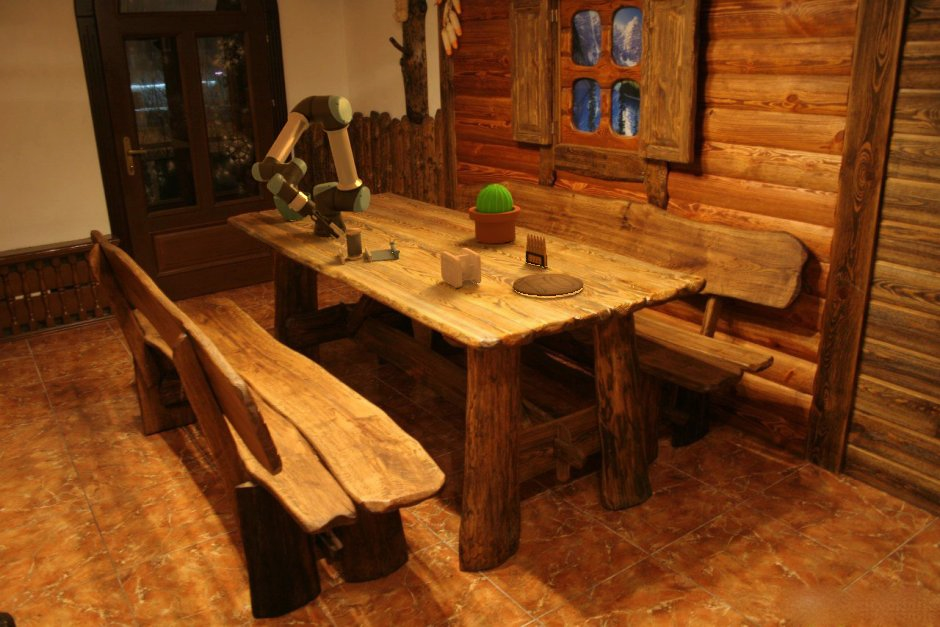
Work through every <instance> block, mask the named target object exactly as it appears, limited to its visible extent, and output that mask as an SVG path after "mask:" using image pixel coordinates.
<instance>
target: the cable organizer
mask: <svg viewBox="0 0 940 627" xmlns="http://www.w3.org/2000/svg"><path fill="white" fill-rule="evenodd" d="M439 256H440V270H441V271H440V272H441V273H440V274H441V278H442V280H443V281H444V282H445V281H446V282H445V283H447V284H448V283H449V284H448V285H451V286H452V287H453V286H454V287H453V288H455V289H459V288H461V287H462V286H463V284H464V281H465V280H467V279H469V280H468V281H469V282H472V283H473V282H474V283H476V284H475V285H478V284H480V283H481V282H482V264H481V263H482V262H481V260H482V259H481V256H480V254H479V253H477V252H476V251H473V250H472V249H470V248H467V247H462V248H460V254H459V255H458V254H457V255H454V254H452V253H451V252H449V251H446V250H445V251H441V252H440V255H439ZM474 283H473V284H474ZM477 283H478V284H477Z"/></svg>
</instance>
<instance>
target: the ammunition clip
mask: <svg viewBox="0 0 940 627" xmlns="http://www.w3.org/2000/svg"><path fill="white" fill-rule="evenodd" d="M546 242H547V241H546V238H545V237H542V236H540V237H539V235H537V236H536V234H534V235H533V234H530V233H527V236H526V246H525V247H526V250H525V263H526V262H527V263H531V264H535V265H540V266H543V267H545V266H547V267H548V254H547V244H546ZM527 263H526V264H527Z"/></svg>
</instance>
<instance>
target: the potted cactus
mask: <svg viewBox="0 0 940 627" xmlns="http://www.w3.org/2000/svg"><path fill="white" fill-rule="evenodd" d="M476 197H477V198H476V203H475V206H472V207H470V208H468V217H469V219H470V220H471V221H473V222H474V231H475V232H474V234H475V235H474V237H475V240H476V242H479V243H482V244H489V245H496V244H498V243H499V244H506V243H510V242H512V241H514V240H516V220H519V219H520V218H521V214H522V213H521V207H520V206H518V205H515V204H514V199H513V196H512V194H511V192H510V191H509V190H508V188H507V187H506V186H505V187H504V185H502V184H498V183H489V184H488V183H487V184H486V185H484V186H483V187H481V189H480V191H479V192H478V193H477V196H476ZM509 241H510V242H509ZM505 242H506V243H505Z"/></svg>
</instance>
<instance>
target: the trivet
mask: <svg viewBox="0 0 940 627" xmlns="http://www.w3.org/2000/svg"><path fill="white" fill-rule="evenodd" d="M583 285H584V286H585V284H584V281H583V280H582V279H580V278H579V277H576V276H573V275H569V274H564V273H563V274H561V273H535V274H530V275H525V276H522V277H519V278H517V279H516V280H514V281H513V283H512V289H513V288H514V290H516V291H517V292H520V293H523V294H528V295H537V296H556V295H563V294H568V293H573V292H575V291H578V290H580V289H581V288H583ZM583 289H584V288H583ZM514 290H513V291H514Z"/></svg>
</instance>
